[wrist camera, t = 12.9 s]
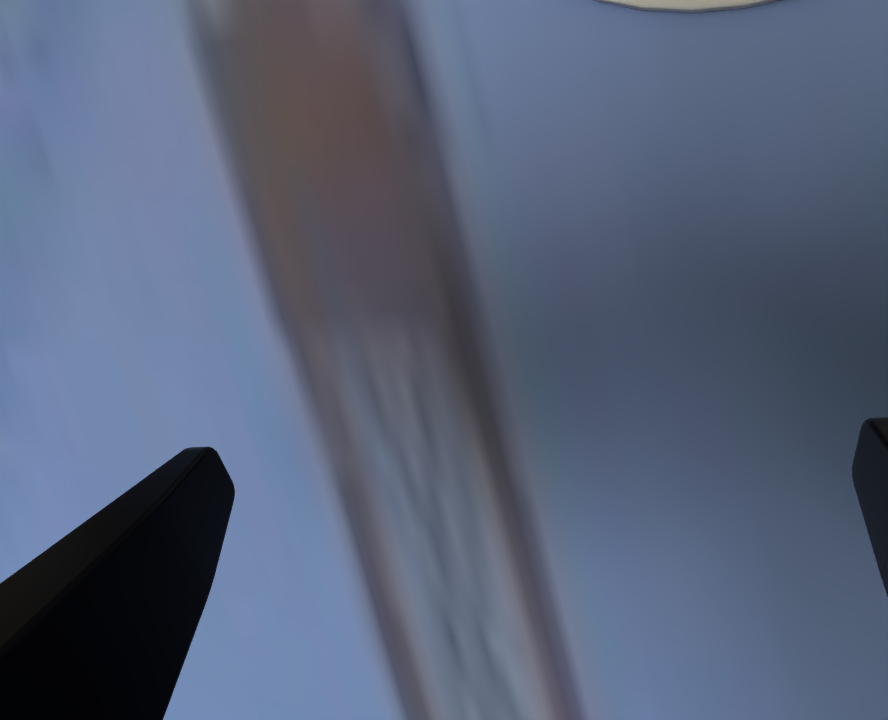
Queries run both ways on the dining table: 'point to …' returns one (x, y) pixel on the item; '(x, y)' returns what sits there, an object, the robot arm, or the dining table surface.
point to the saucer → (687, 5)
